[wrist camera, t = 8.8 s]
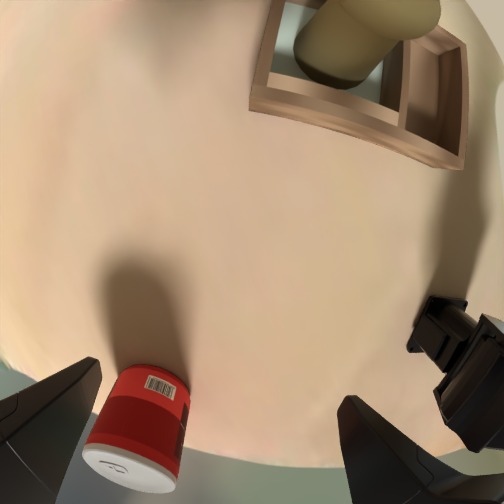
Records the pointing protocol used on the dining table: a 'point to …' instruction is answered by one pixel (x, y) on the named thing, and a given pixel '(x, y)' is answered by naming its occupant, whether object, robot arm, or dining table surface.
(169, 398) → the canned food
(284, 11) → the socket box
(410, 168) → the dining table surface
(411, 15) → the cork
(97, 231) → the dining table surface
